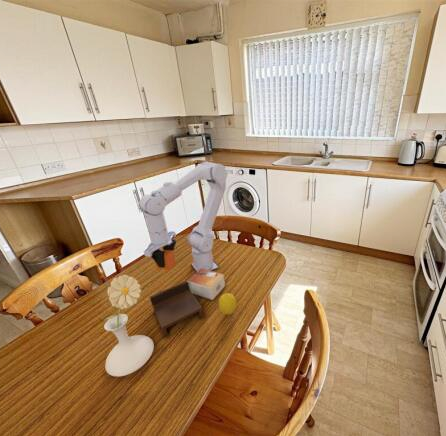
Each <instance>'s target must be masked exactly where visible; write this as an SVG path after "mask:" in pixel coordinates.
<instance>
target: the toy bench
mask: <svg viewBox="0 0 446 436" xmlns="http://www.w3.org/2000/svg"><path fill="white" fill-rule="evenodd" d="M149 299H150V303H151V305H152V308H153V311H154V314H155V317H156V319H157V321H158V324H159V326H160V329H161V331H162V333H163V337H164V338H166V337H169V333H168V330H167V329H168V328H169V327H172V326H174V325H176V324H177V323H180V322H181V321H183V320H186V319H187V318H189V317H191V316H193V315H195V314H198V317H199V318H200V319H202V318H204V317H205V316H204V312H203V307H202V306H201V304H200V302H199V301H198V299H197V298H196V297H195V294H193V293H192V292H191V290H190V289H189V285H188V282H187V280H185V281H183V282H181V283H178V284H176V285H173V286H171V287H168V288H166V289H165V290H162V291H160V292H157V293H155V294H153V295H150V296H149Z"/></svg>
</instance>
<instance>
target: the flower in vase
mask: <svg viewBox="0 0 446 436" xmlns="http://www.w3.org/2000/svg"><path fill="white" fill-rule="evenodd" d="M138 282H139V280H138V279H136V278H134V277H133V276H129V275H128V274H123V275H119V276H118V277H114V278H112V281H110V286H108V288H107V296H108V300H109V301H110V303H111V306H112V307H115V308H118V311H117V314H114V315H111V316H108V317H106V318H105V319H104V318H103V319H102V320H103V321H106V322H105V323H104V326H103V327H104V328H103V329H104V330H106V331H107V332H111V333H113V334H114V335H115V337H116V339H117V341H118V343H117V344H116V345H115V346H114V347H113V348H112V349H111V350H110V352H109V353H108V355H107V357H106V359H105V365H104V366H105V367H104V368H105V371H106V373H107V374H108V375H110V376H112V377H126V376H128V375H132V374H133V373H135V372H136V371H138V370H140V369H141V368H142V367H143V366H144V365H145V364H147V362H148V361H149V360H150V358H151V356H152V355H153V352H154V348H155V344H154V341H153V339H152V338H150V337H149V336H147V335H145V334H135V335H131V336H129V334H128V331H127V326H126V325H127V322H128V320H129V316H128V315H127V314H125V313H121V310H124V309H130V308H132V307H133V306H134V305H136V304H137V303H138V299H139V298H141V292H142V289H141V284H139V283H138Z"/></svg>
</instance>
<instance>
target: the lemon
mask: <svg viewBox="0 0 446 436" xmlns="http://www.w3.org/2000/svg"><path fill="white" fill-rule="evenodd" d="M237 305H238V304H237V300H236V297H235V295H233V294H232V293H229V292H227V293H224V294H222V295H221V296H220V297H219V300H218V309H219V311H220V312H221V313H222V314H223V315H225V316H230V315H232V314H233V313H235V312H236V309H237Z"/></svg>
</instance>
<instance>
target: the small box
mask: <svg viewBox="0 0 446 436" xmlns="http://www.w3.org/2000/svg"><path fill="white" fill-rule="evenodd" d="M186 281H187V282H188V285H189V289H190V290H191V292H192V294H193V295H196V296H200V297H202V298H205V299H207V300H211V301H213V300H214V299H215V298H216V297H217V296H218V295H219V294H220V293H221V292H222V291H223V290H224V288H225V287H226V282H225V275H224V274H223V273H219V272H216V271H213V270H211V271H209V270H205V269H200V270H199V271H198V272H197V271H196V272H195V273H194V274H193V275H192V276H190V277H189V278H188V279H187V280H186Z"/></svg>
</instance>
